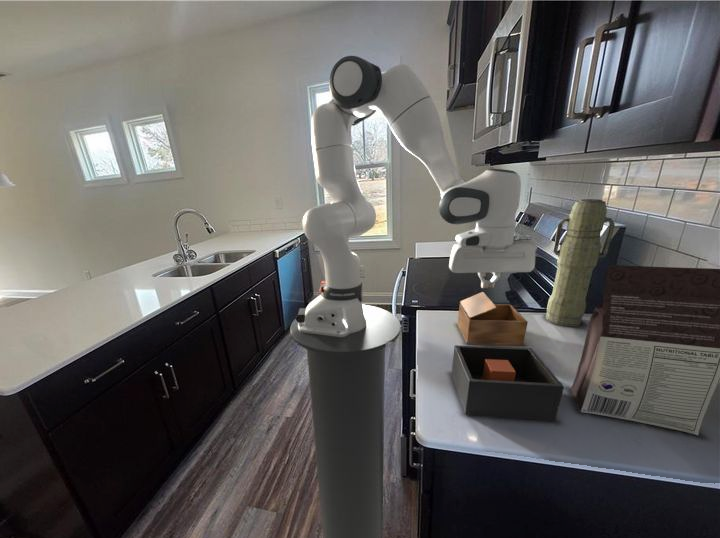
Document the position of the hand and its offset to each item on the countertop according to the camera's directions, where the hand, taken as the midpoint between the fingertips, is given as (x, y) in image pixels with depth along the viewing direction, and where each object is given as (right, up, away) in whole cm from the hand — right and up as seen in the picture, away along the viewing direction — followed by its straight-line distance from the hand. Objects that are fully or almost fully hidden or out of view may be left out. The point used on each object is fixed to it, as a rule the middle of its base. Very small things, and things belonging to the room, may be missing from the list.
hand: (487, 287), depth 86 cm
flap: (-2, -5, +2) cm, 6 cm away
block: (-9, -23, -20) cm, 31 cm away
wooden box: (+3, -13, +5) cm, 14 cm away
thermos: (+28, -10, +10) cm, 32 cm away
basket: (-8, -23, -20) cm, 32 cm away
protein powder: (+13, -24, -26) cm, 38 cm away
